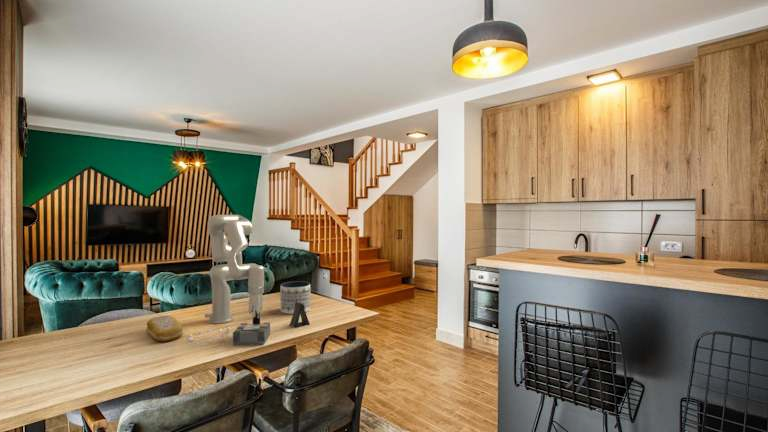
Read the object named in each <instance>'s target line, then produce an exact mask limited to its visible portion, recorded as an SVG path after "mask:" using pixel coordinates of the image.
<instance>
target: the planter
mask: <svg viewBox="0 0 768 432" xmlns="http://www.w3.org/2000/svg"><path fill="white" fill-rule="evenodd" d="M279 301H280V312H281V313H283V314H286V315H293V313H294V310H295V303H296V302H298V303H299V302H300V303H302V304H304V306H305V307H304V310H305V312H306V313H307V312H309V311H310V310H311V283H310V282H308V281H302V280H301V281H298V280H297V281H296V280H295V281H287V282H283V283H281V284H280V300H279Z"/></svg>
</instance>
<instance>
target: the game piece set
mask: <svg viewBox="0 0 768 432" xmlns="http://www.w3.org/2000/svg"><path fill="white" fill-rule="evenodd" d="M216 327H218V329H219V330H218V332H222V331H223V329H222V328H220V327H219V325H217V326H216ZM196 331H197V332H196ZM230 331H231V327H230V326H228V327H226V331H225V333H226V334H227V337H230V335H229V332H230ZM201 333H202V330H201V329H200V330H198V329H196V328H195V334H196V335H200V334H201ZM207 333H212V329H211V325H209V326H208V329H207ZM219 338H220V341H223V340H224V335H223V334H220V335H219ZM193 340H194V338H193V334H189V335H188V337H187V341H189V342H192V341H193ZM200 341H201V339H200V338H198V337H197V338H196V339H195V345H199V344H200ZM207 343H208V344H211V343H212V341H211V339H209V341H208V342H207Z"/></svg>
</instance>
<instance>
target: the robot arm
mask: <svg viewBox="0 0 768 432" xmlns="http://www.w3.org/2000/svg"><path fill="white" fill-rule="evenodd" d="M207 229H208V233H209V236H210V245H211V258H212V260H213V261H214V262H215V263H223V264H217V265H214V266H212V267H211V268H210V270H209V276H210V283H211V307H212V308H211V311H212V312H211V313H210V312H209V313H205V314H204V317H205V318H206V319H207V318H208V319H209V323H210V324H218V325H219V324H225V323H226V324H227V323H230V322H232V321H233V320H234V316H233V315H231V287H230V285H229V284H228V283H227V282H228V281H234V280H236V281H240V280H247V279H248V280H247V281H248V287H247V288H248V295H249V298H248V314H249V315H251V314H252V324H261V311H262V310H263V304H264V303H263V294H264V293H265V267H264V266H263V265H259V264H256V262H255V263H254V262H253V263H252V262H251V263H243V255H242V251H244V250H246V249H247V248H248V246H249V243H248V241H247V238H246V236H248V235H251V234H252V233H253V231H254V228H253V224H252V222H251V220H249V219H248V218H246V217H244V216H242V215H240V214H216V215H215V214H214V215H212V216H210V217H209V219H208V221H207ZM225 262H226V263H225Z"/></svg>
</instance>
